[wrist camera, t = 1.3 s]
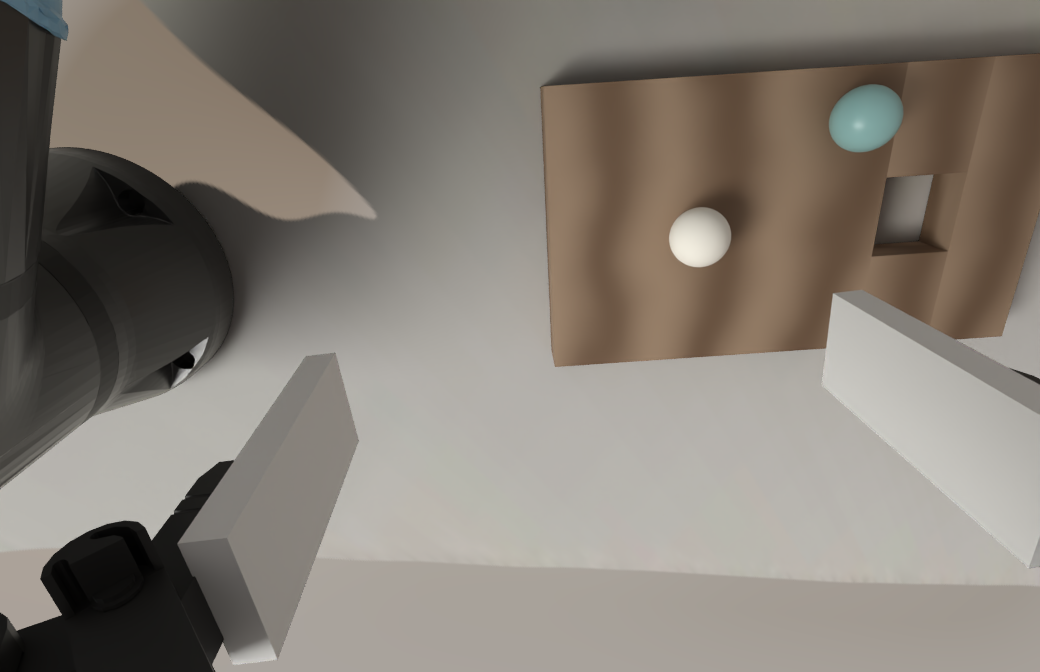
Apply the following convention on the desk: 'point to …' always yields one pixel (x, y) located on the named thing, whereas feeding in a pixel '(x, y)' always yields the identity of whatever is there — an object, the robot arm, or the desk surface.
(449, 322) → the desk surface
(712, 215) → the ball
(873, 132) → the teal ball
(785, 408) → the desk surface
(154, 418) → the desk surface
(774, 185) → the board
